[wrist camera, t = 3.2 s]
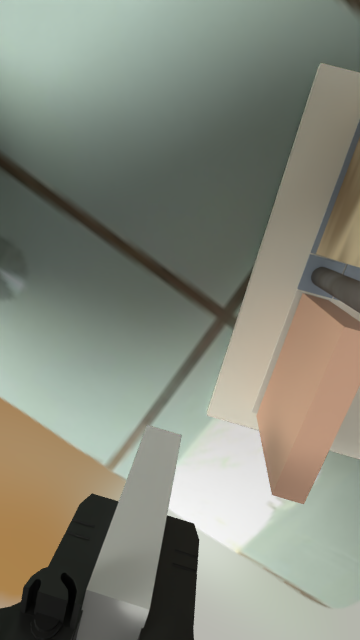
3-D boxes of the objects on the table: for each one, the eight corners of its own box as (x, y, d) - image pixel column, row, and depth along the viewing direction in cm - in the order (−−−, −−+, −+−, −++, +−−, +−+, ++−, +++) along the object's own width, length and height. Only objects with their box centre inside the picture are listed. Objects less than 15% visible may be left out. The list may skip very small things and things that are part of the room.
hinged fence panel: (302, 292, 20) (344, 326, 14) (328, 299, 20) (382, 337, 14) (256, 415, 23) (272, 494, 16) (278, 422, 23) (303, 504, 16)
